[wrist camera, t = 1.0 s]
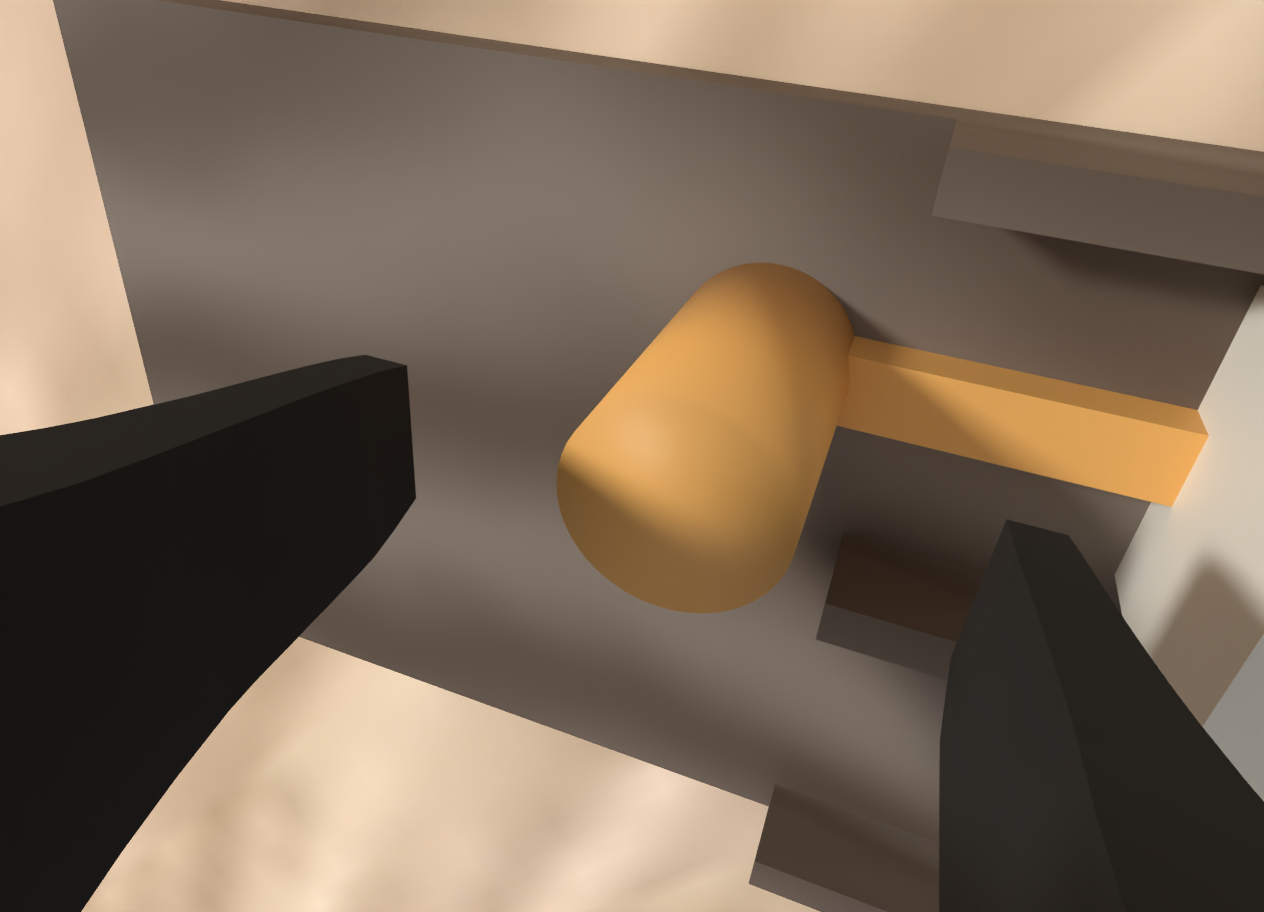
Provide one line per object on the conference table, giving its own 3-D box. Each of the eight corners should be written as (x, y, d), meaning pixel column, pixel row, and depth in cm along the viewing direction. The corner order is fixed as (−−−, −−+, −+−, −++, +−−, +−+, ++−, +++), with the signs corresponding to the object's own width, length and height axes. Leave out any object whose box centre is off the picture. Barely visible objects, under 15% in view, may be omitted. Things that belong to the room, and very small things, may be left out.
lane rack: (1270, 944, 18) (1313, 1102, 15) (229, 580, 24) (145, 650, 22) (1907, 245, 10) (2207, 344, 7) (95, -18, 16) (-61, -12, 14)
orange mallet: (1475, 670, 13) (1699, 1008, 9) (663, 454, 16) (549, 628, 12) (1737, 370, 10) (2235, 657, 6) (695, 183, 13) (564, 288, 9)
